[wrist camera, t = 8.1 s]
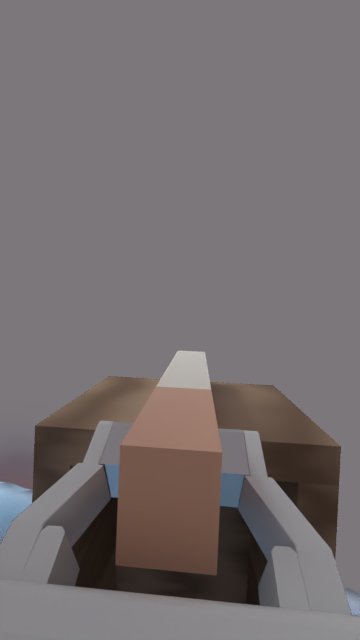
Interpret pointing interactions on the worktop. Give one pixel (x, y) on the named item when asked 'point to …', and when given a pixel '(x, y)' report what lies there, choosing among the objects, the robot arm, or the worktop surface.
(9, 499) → the worktop surface
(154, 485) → the bar
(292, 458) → the shelf
